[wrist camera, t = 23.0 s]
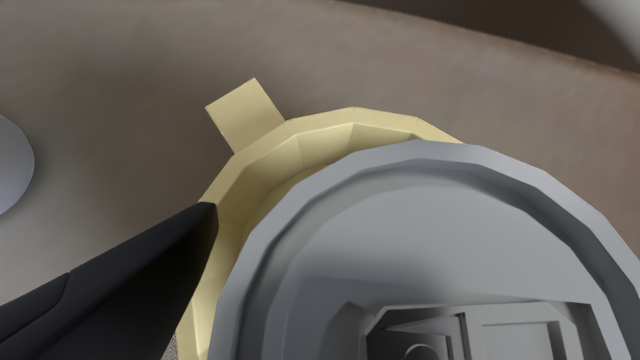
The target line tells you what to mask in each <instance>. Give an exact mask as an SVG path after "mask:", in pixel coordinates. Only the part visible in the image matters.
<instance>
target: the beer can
mask: <svg viewBox="0 0 640 360" xmlns="http://www.w3.org/2000/svg"><path fill="white" fill-rule="evenodd" d="M207 360H640V261H639V260H638V259H637V257H636V256H635V255H634V253H633V252H632V251H631V250H630V248H629V247H628V246H627V245H626V243H625V242H624V241H623V240H622V238H621V237H620V236H619V234H618V233H617V232H616V231H615V229H614V228H613V227H612V226H611V224H610V223H609V222H608V221H607V219H606V218H605V217H604V216H603V215H602V214H601V213H600V212H598V211H597V210H596V209H594V208H593V207H592V206H590V205H589V204H588V203H586V202H585V201H584V200H582V199H581V198H580V197H578V196H577V195H576V194H574V193H573V192H572V191H570V190H569V189H568V188H566V187H565V186H564V185H562V184H561V183H560V182H559V181H557V180H556V179H555V178H553V177H552V176H551V175H549V174H548V173H547V172H545V171H543V170H541V169H538V168H536V167H533V166H531V165H528V164H526V163H523V162H521V161H518V160H516V159H513V158H511V157H508V156H506V155H503V154H501V153H498V152H496V151H493V150H491V149H488V148H486V147H483V146H479V145H469V144H459V143H449V142H439V141H429V140H419V139H415V140H410V141H405V142H400V143H395V144H390V145H385V146H380V147H375V148H370V149H365V150H361V151H356V152H353V153H351V154H349V155H347V156H346V157H344V158H342V159H340V160H338V161H337V162H335V163H333V164H331V165H329V166H328V167H326V168H324V169H322V170H320V171H319V172H317V173H315V174H313V175H311V176H310V177H308V178H306V179H304V180H302V181H300V182H299V183H297V184H296V185H294V186H293V187H292V188H291V189H290V190H289V191H288V192H287V193H286V194H285V195H284V196H283V198H282V199H281V200H280V201H279V202H278V203H277V204H276V205H275V206H274V207H273V208H272V209H271V210H270V211H269V212H268V213H267V214H266V215H265V217H264V218H263V219H262V220H261V221H260V222H259V223H258V224H257V225H256V226H255V227H254V228H253V230H252V232H251V233H250V235H249V237H248V239H247V241H246V243H245V245H244V247H243V249H242V251H241V253H240V255H239V257H238V259H237V261H236V263H235V265H234V267H233V269H232V271H231V273H230V275H229V277H228V279H227V281H226V283H225V285H224V287H223V289H222V291H221V293H220V295H219V297H218V299H217V304H216V310H215V316H214V321H213V327H212V333H211V339H210V344H209V350H208V356H207Z"/></svg>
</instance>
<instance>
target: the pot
mask: <svg viewBox="0 0 640 360" xmlns="http://www.w3.org/2000/svg"><path fill="white" fill-rule="evenodd" d="M205 109H206V111H207V112H208V114H209V115H210V117H211V118H212V120H213V121H214V123H215V124H216V126H217V128H218V129H219V131H220V132H221V134H222V135H223V137H224V138H225V140H226V141H227V143H228V144H229V146H230V147H231V149H232V150H233V152H234V153H235V154H234V156H232V157H231V158H230V160H229V161H228V162H227V164H226V165H225V166H224V168H223V169H222V170H221V172H220V173H219V174H218V176H217V177H216V178H215V180H214V181H213V182H212V184H211V185H210V187H209V188H208V189H207V191H206V192H205V193H204V195H203V196H202V197H201V199H200V200H199V201H198V202H201V201H204V202H212V203H215V204H216V206H217V211H218V219H219V231H218V235H217V238H216V240H215V243H214V246H213V248H212V251H211V254H210V256H209V259H208V262H207V265H206V267H205V270H204V273H203V275H202V278H201V280H200V282H199V285H198V287H197V289H196V291H195V293H194V295H193V297H192V299H191V301H190V303H189V305H188V307H187V309H186V311H185V313H184V314H183V316H182V318H181V320H180V322H179V324H178V326H177V328H176V330H175V334H176V344H177V355H178V360H207V356H208V350H209V344H210V339H211V333H212V327H213V321H214V316H215V310H216V304H217V299H218V297H219V295H220V293H221V291H222V289H223V287H224V285H225V283H226V281H227V279H228V277H229V275H230V273H231V271H232V269H233V267H234V265H235V263H236V261H237V259H238V257H239V255H240V253H241V251H242V249H243V247H244V245H245V243H246V241H247V239H248V237H249V235H250V233H251V232H252V230H253V228H254V227H255V226H256V225H257V224H258V223H259V222H260V221H261V220H262V219H263V218H264V217H265V215H266V214H267V213H268V212H269V211H270V210H271V209H272V208H273V207H274V206H275V205H276V204H277V203H278V202H279V201H280V200H281V199H282V198H283V196H284V195H285V194H286V193H287V192H288V191H289V190H290V189H291V188H292V187H293V186H294V185H296V184H297V183H299V182H300V181H302V180H304V179H306V178H308V177H310V176H311V175H313V174H315V173H317V172H319V171H320V170H322V169H324V168H326V167H328V166H329V165H331V164H333V163H335V162H337V161H338V160H340V159H342V158H344V157H346V156H347V155H349V154H351V153H353V152H356V151H361V150H365V149H370V148H375V147H380V146H385V145H390V144H395V143H400V142H405V141H410V140H415V139H419V140H429V141H439V142H449V143H459V144H464V143H462V142H461V141H459V140H457V139H455V138H454V137H452V136H450V135H448V134H446V133H445V132H443V131H441V130H439V129H438V128H436V127H434V126H432V125H431V124H429V123H427V122H425V121H424V120H422V119H420V118H417V117H415V116H409V115H403V114H396V113H390V112H384V111H378V110H372V109H366V108H360V107H347V108H343V109H338V110H333V111H328V112H323V113H318V114H313V115H308V116H303V117H298V118H293V119H290V120H287V121H285V119H284V118H283V116H282V115H281V114H280V112H279V111H278V109H277V108H276V107H275V105H274V104H273V102H272V101H271V100H270V98H269V97H268V95H267V94H266V93H265V91H264V90H263V88H262V87H261V86H260V84H259V83H258V82H257V80H256V79H255V78H252V79H251V80H249V81H247V82H246V83H244V84H242V85H241V86H239V87H237V88H236V89H234V90H232V91H231V92H229V93H228V94H226V95H224V96H223V97H221V98H219V99H218V100H216V101H214V102H213V103H211V104H209V105H208V106H206V107H205Z"/></svg>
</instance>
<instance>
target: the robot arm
mask: <svg viewBox="0 0 640 360" xmlns="http://www.w3.org/2000/svg"><path fill="white" fill-rule="evenodd" d="M218 231H219V219H218V211H217V206H216V204H215V203H212V202H204V201H201V202H198V203H196V204H195V205H193V206H191V207H189V208H187V209H185V210H183V211H181V212H180V213H178V214H176V215H174V216H172V217H170V218H168V219H166V220H165V221H163V222H161V223H159V224H157V225H155V226H153V227H151V228H150V229H148V230H146V231H144V232H142V233H140V234H138V235H136V236H135V237H133V238H131V239H129V240H127V241H125V242H123V243H121V244H119V245H118V246H116V247H114V248H112V249H110V250H108V251H106V252H104V253H103V254H101V255H99V256H97V257H95V258H93V259H91V260H89V261H88V262H86V263H84V264H82V265H80V266H78V267H76V268H74V269H72V270H71V271H70V273H65V274H63V275H61V276H59V277H57V278H55V279H54V280H52V281H50V282H48V283H46V284H44V285H42V286H40V287H38V288H36V289H34V290H32V291H30V292H28V293H26V294H25V295H23V296H21V297H19V298H17V299H15V300H12V301H10V302H8V303H6V304H4V305H2V306H0V360H161V358H162V356H163V354H164V352H165V350H166V348H167V346H168V344H169V342H170V340H171V338H172V336H173V334H174V332H175V330H176V328H177V326H178V324H179V322H180V320H181V318H182V316H183V314H184V313H185V311H186V309H187V307H188V305H189V303H190V301H191V299H192V297H193V295H194V293H195V291H196V289H197V287H198V285H199V282H200V280H201V278H202V275H203V273H204V270H205V267H206V265H207V262H208V259H209V256H210V254H211V251H212V248H213V246H214V243H215V240H216V238H217V235H218Z"/></svg>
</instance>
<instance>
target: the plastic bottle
mask: <svg viewBox="0 0 640 360" xmlns="http://www.w3.org/2000/svg"><path fill="white" fill-rule="evenodd" d="M34 160H35V158H34V154H33V150H32V148H31V146H30V144H29V142H28V140H27V138H26V136H25V134H24V132H23V131H22V130H21V129H20V128H19V126H18V125H16V124H15V123H13V122H12V121H10V120H9V119H7V118H5V117H4V116H2V115H1V114H0V215H1V214H2V213H4V212H5V211H7V210H8V209H9V208H10V207H12V206H13V205H14V204H15V203H16V202H17V201H18V200H19V199H20V197H21V196H22V195H23V194H24V192H25V191H26V189H27V187H28V186H29V183H30V181H31V179H32V176H33V171H34Z"/></svg>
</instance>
